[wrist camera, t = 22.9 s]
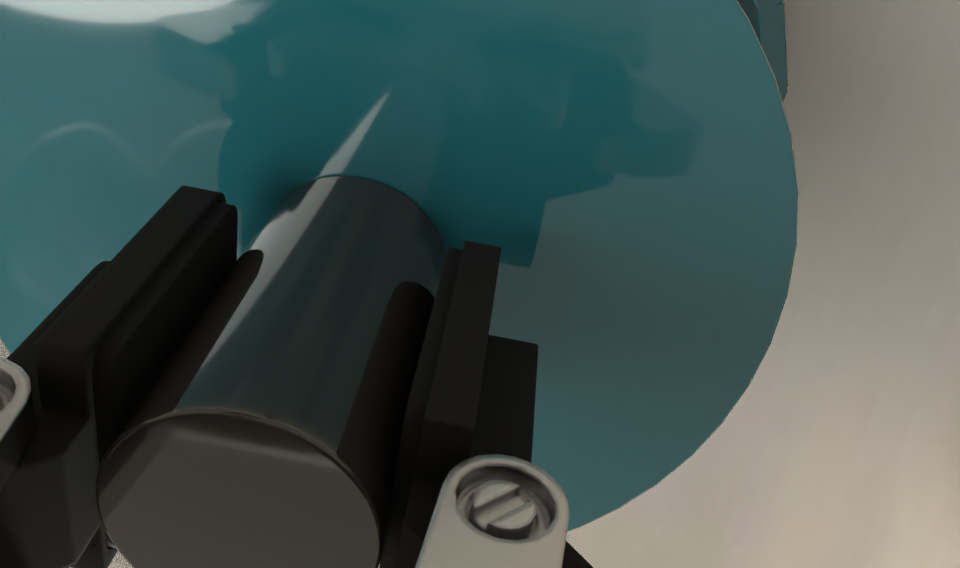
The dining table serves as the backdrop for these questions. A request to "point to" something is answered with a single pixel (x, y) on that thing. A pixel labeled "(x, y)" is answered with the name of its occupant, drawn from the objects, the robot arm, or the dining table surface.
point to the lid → (399, 238)
